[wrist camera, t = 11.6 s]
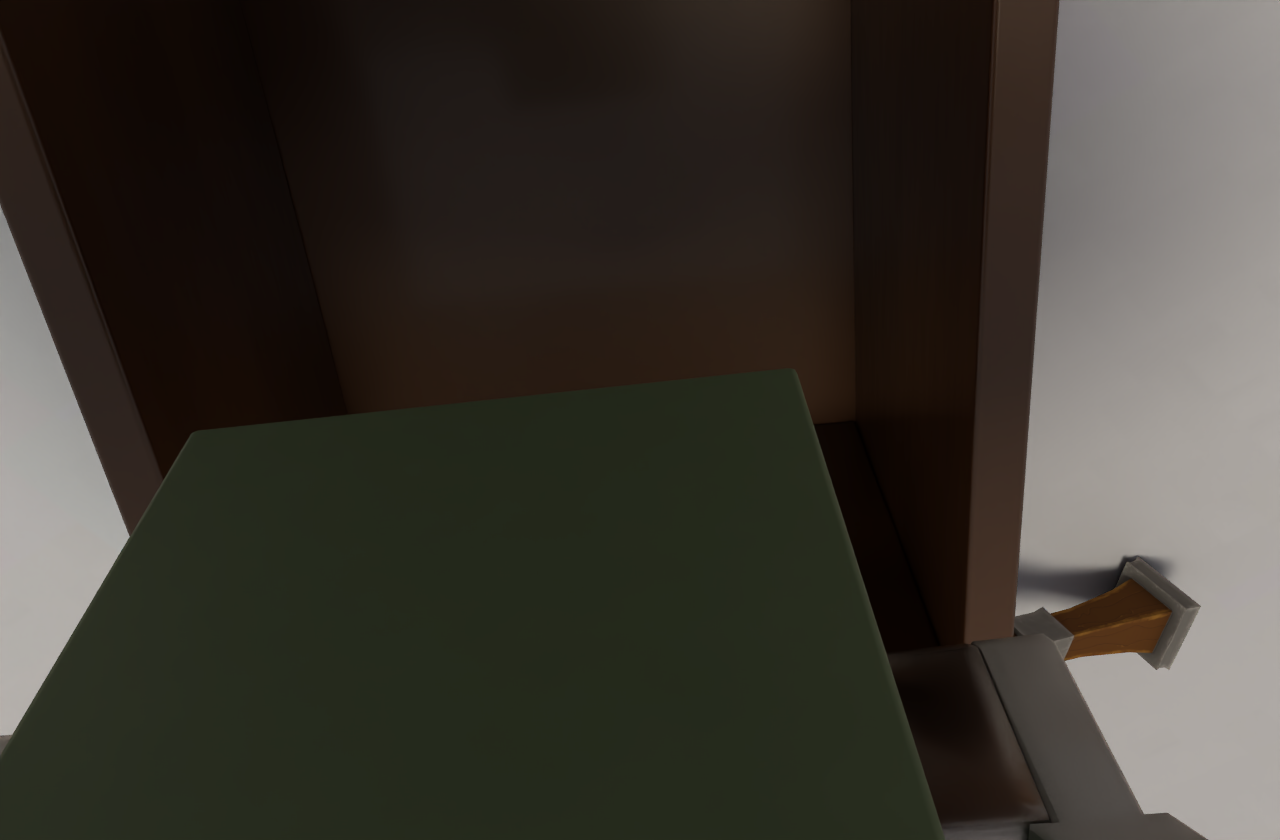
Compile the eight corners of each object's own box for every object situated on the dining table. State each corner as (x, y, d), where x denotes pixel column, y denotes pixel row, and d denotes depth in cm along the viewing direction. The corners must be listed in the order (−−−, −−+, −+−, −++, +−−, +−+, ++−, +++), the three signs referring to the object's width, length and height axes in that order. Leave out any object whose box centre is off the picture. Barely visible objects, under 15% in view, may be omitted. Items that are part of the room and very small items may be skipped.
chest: (883, 428, 25) (1008, 730, 17) (343, 483, 25) (232, 806, 17) (884, -491, 17) (1112, -680, 9) (104, -396, 17) (-281, -505, 10)
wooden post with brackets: (781, 538, 25) (911, 684, 21) (1060, 493, 28) (1208, 612, 25) (763, 605, 26) (885, 755, 22) (1035, 553, 29) (1176, 676, 26)
